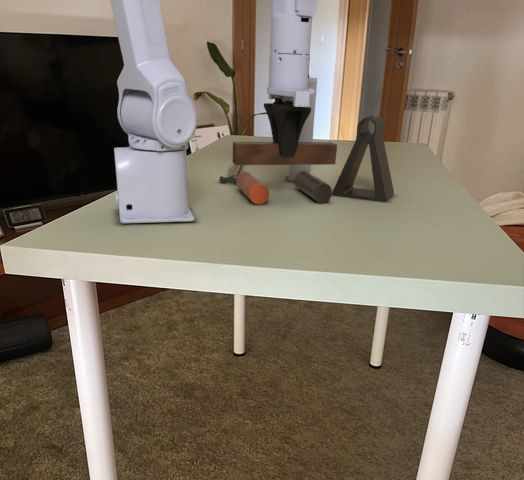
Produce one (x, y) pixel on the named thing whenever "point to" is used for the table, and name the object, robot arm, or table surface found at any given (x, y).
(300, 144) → the bar
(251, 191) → the rods
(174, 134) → the robot arm
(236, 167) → the tomahawk
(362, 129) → the dark grey triangle stand
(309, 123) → the vintage mobile phone
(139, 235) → the table surface
